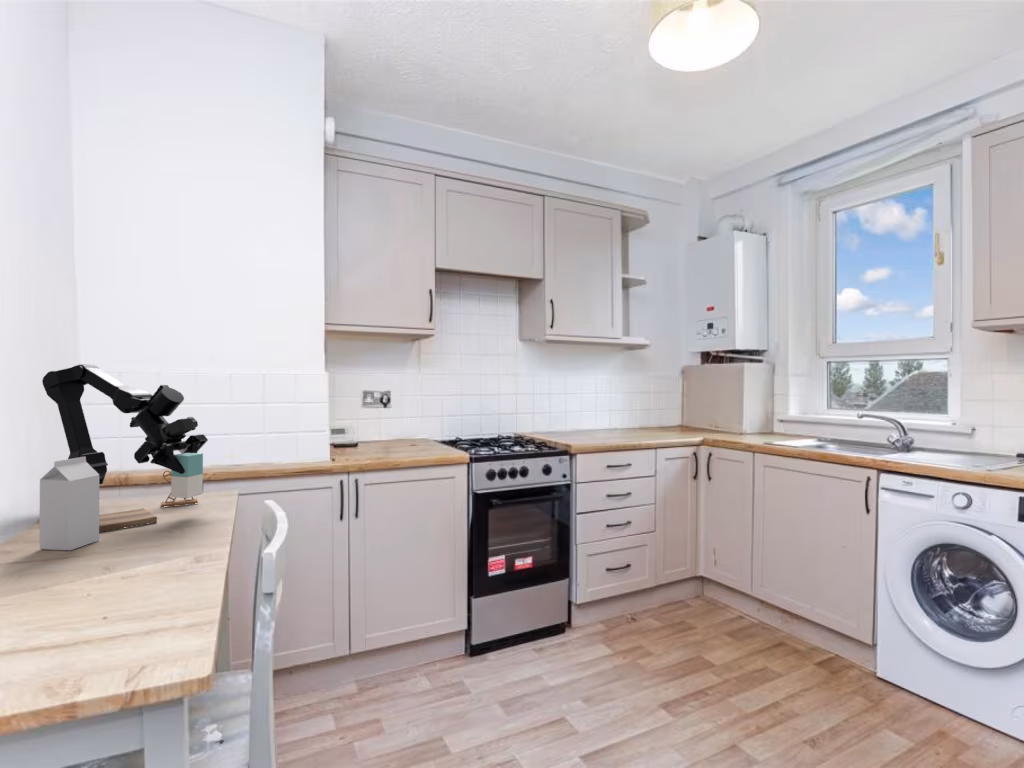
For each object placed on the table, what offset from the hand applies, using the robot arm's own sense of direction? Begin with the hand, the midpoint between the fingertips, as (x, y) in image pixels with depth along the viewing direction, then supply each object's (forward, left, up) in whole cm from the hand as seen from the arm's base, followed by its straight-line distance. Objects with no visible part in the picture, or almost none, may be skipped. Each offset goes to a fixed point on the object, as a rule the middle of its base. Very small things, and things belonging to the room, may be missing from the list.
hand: (191, 471), depth 137 cm
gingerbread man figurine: (-17, +2, -12) cm, 21 cm away
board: (-6, -14, -12) cm, 19 cm away
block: (-1, -1, -7) cm, 7 cm away
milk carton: (+7, -26, -12) cm, 29 cm away
